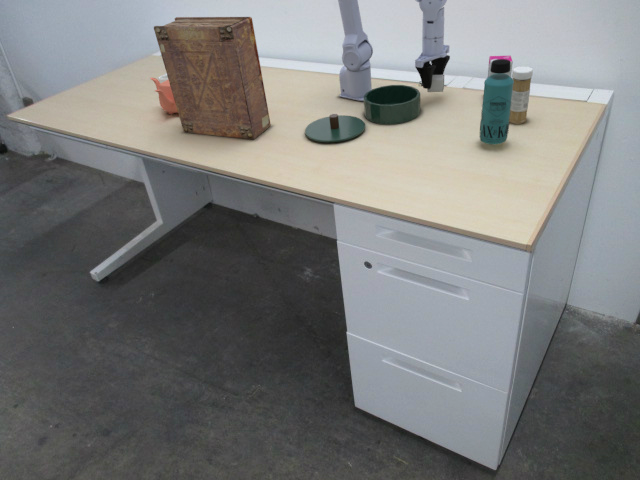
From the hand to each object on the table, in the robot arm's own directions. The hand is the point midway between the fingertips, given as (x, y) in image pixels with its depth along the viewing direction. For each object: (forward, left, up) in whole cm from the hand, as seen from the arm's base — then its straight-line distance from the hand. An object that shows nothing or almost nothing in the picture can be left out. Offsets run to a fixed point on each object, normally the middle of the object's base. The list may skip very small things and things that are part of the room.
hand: (432, 85), depth 147 cm
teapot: (-68, -42, -5) cm, 80 cm away
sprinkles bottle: (+27, -3, -5) cm, 28 cm away
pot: (-5, -13, -5) cm, 15 cm away
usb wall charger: (0, 0, -2) cm, 2 cm away
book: (-42, -44, -5) cm, 61 cm away
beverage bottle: (+28, -18, -5) cm, 34 cm away
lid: (-12, -30, -4) cm, 33 cm away
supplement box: (+16, +8, -5) cm, 19 cm away
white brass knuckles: (-94, -22, -5) cm, 97 cm away
